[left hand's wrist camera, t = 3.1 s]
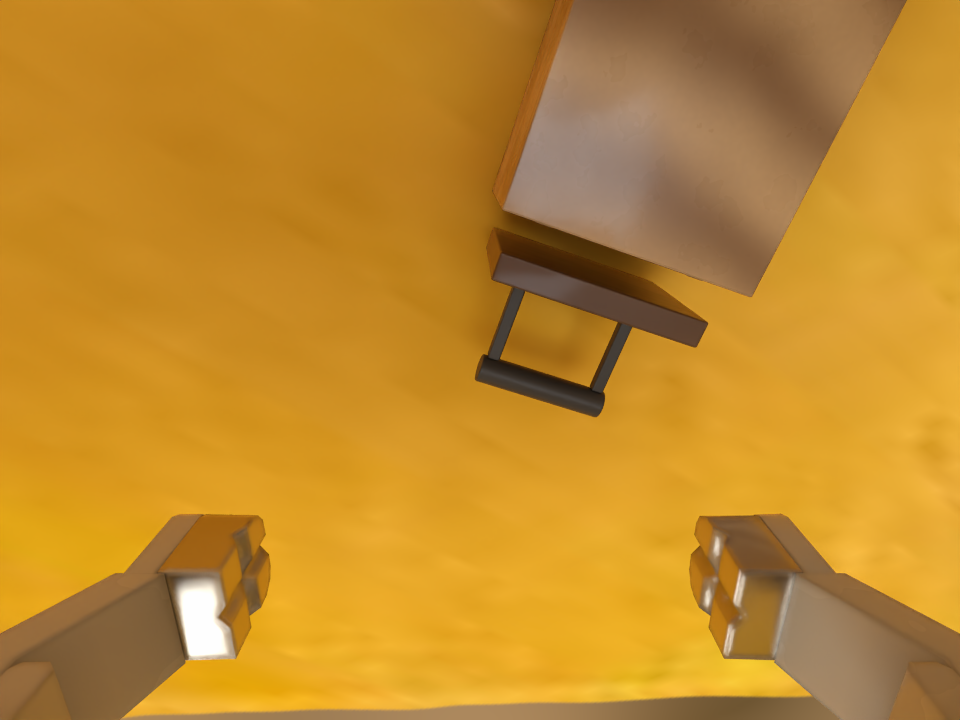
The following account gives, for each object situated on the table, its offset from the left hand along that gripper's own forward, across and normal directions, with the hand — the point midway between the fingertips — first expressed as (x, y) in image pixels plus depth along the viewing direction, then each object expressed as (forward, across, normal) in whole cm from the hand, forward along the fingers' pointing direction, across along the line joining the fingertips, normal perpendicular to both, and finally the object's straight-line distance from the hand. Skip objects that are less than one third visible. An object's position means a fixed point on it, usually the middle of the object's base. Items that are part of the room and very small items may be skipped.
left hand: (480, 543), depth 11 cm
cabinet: (+22, -8, -10) cm, 26 cm away
